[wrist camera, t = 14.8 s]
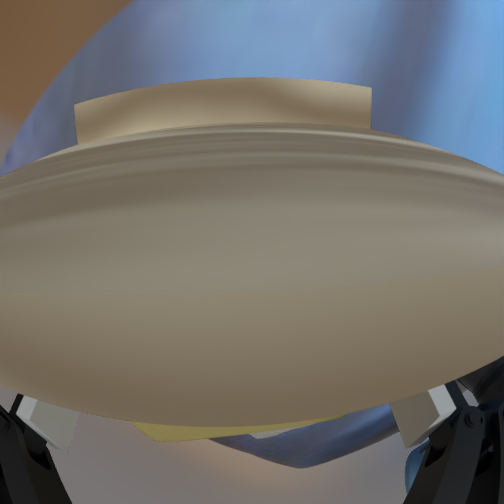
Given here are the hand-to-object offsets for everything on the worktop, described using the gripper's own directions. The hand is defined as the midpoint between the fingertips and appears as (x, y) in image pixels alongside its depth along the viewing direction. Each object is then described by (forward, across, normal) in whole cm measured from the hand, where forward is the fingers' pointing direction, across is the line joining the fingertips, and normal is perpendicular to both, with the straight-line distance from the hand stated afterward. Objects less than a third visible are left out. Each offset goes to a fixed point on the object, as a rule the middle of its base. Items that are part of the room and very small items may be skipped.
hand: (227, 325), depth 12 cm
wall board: (+10, 0, -3) cm, 11 cm away
